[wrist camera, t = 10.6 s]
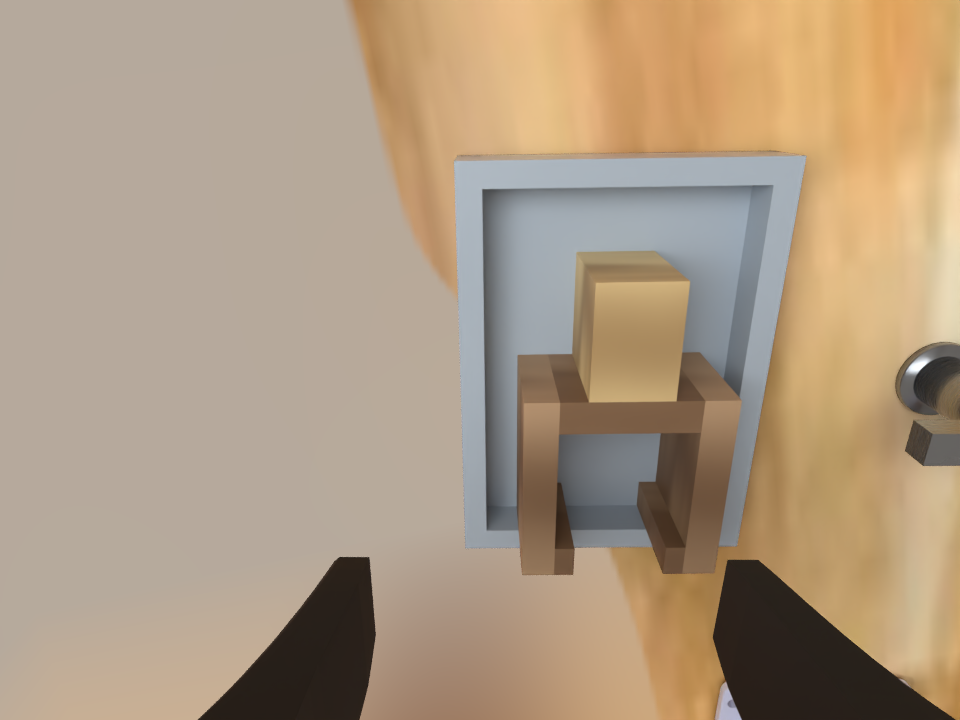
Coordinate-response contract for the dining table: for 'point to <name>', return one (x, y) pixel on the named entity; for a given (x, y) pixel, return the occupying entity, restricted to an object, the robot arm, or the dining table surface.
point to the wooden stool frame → (627, 414)
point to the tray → (550, 309)
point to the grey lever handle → (933, 403)
